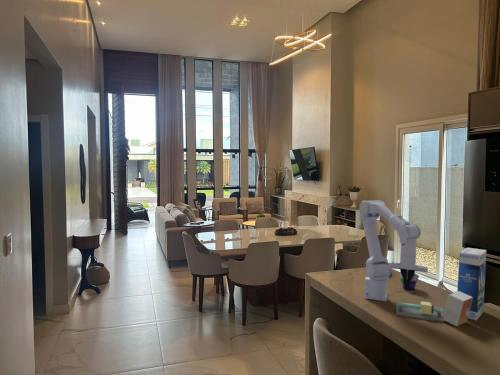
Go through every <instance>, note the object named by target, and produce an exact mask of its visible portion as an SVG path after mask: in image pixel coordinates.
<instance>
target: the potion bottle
mask: <svg viewBox="0 0 500 375" xmlns="http://www.w3.org/2000/svg"><path fill="white" fill-rule="evenodd" d="M407 271H408V270H407ZM399 275H400V276H399V277H400V282H401V284H402V289H404V290H407V291H415V290H416V285H417V283H418V281H419V277H420V274H417V273H415V275H414V276H413V278H412V280H411V282H410V285H409V289H406V288H405V284H404V280H403V277H402V275H401V272H400V273H399ZM414 289H415V290H414Z"/></svg>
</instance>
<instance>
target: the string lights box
mask: <svg viewBox="0 0 500 375" xmlns="http://www.w3.org/2000/svg"><path fill="white" fill-rule="evenodd" d="M486 265H487V249H481V248H480V249H479V248H472V247H466V248H465V249H464V248H463V250H461V251H459V256H458V273H457V291H456V292H458V291H460V292H462V293H464V294H467V295H469V296H471V297H473V300H472V304H471V308H470V311H469V315H468V319H467V320H473V321H478V319H479V318H480V317H481V315H483V313H484V306H485V304H484V303H485V285H486V268H487V266H486Z"/></svg>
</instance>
